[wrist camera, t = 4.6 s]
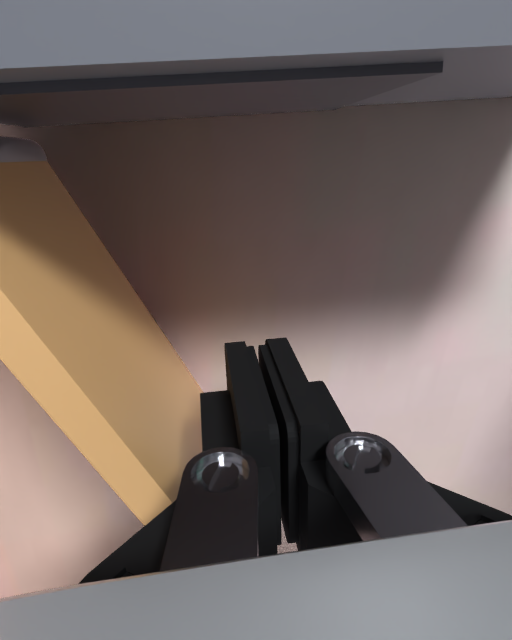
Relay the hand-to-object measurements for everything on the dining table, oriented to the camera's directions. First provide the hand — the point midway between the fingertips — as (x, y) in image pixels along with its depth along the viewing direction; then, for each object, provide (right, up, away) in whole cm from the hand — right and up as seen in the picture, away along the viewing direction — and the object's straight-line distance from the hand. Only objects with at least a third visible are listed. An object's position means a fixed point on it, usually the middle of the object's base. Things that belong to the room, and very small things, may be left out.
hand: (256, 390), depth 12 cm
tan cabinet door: (-5, +3, +2) cm, 6 cm away
